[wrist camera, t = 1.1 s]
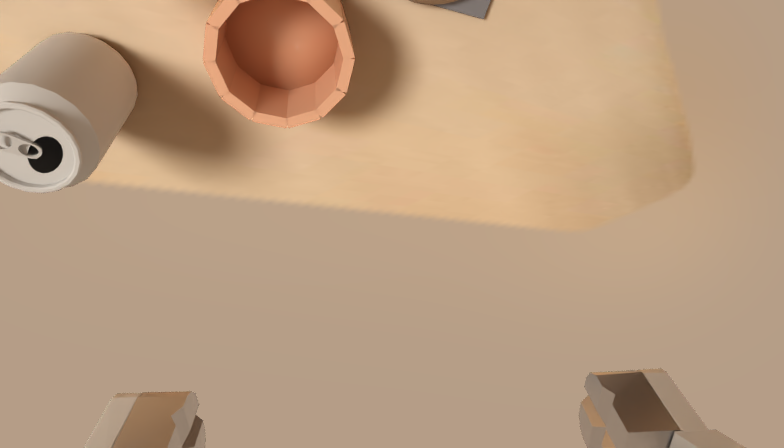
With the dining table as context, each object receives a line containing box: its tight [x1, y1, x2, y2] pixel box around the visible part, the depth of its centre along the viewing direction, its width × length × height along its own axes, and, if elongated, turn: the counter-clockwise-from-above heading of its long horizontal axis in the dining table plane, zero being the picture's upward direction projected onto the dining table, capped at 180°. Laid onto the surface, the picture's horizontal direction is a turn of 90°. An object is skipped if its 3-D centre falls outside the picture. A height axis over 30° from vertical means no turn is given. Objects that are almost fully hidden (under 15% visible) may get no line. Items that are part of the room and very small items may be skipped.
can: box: [0, 32, 138, 193], centre depth 37 cm, size 8×8×12 cm
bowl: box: [203, 0, 355, 128], centre depth 39 cm, size 10×10×6 cm
